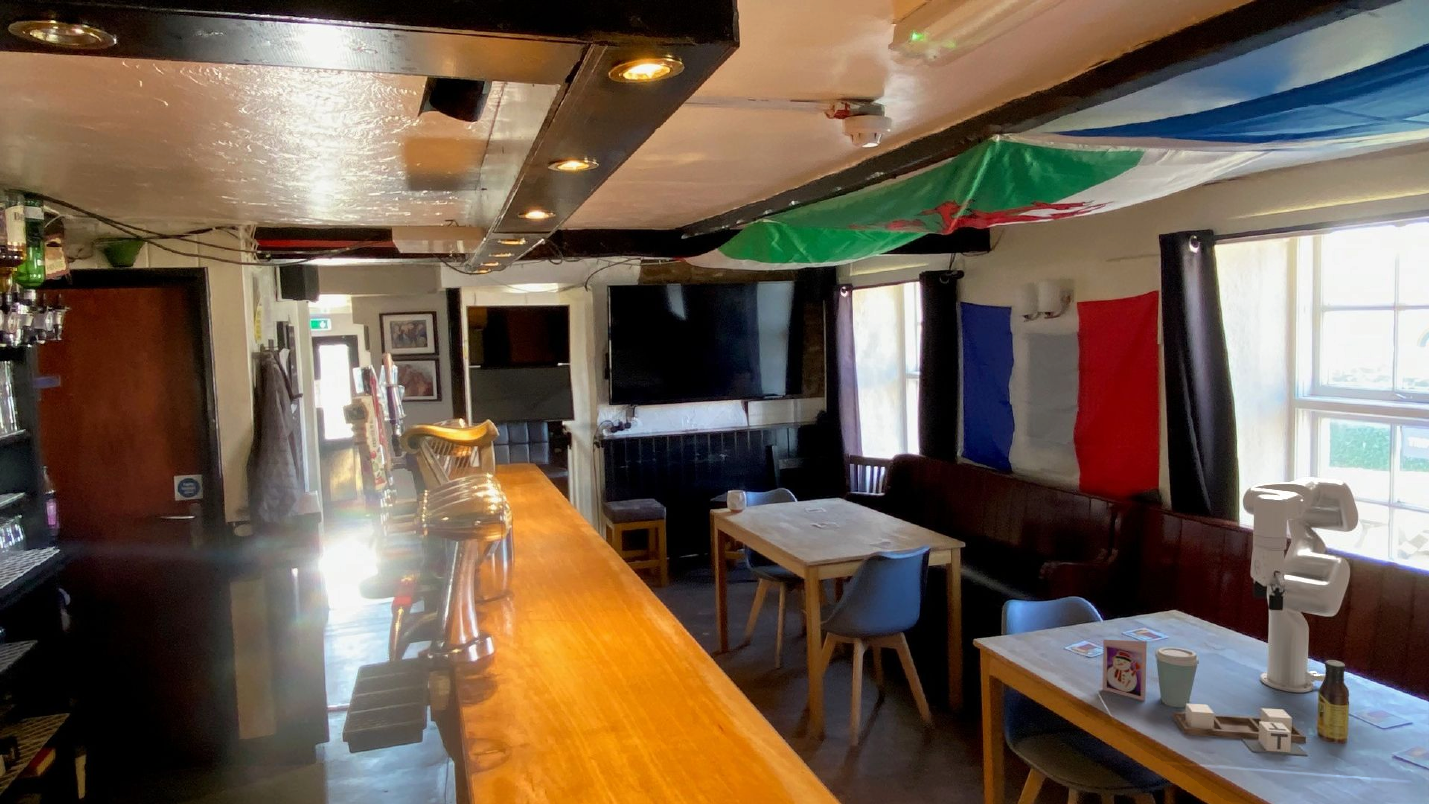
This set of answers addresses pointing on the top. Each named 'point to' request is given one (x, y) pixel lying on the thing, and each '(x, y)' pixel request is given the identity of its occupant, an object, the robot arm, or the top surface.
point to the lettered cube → (1274, 736)
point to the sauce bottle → (1333, 704)
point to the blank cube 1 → (1199, 716)
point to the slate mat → (1258, 748)
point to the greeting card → (1125, 667)
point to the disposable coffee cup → (1176, 675)
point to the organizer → (1232, 727)
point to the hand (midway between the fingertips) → (1267, 604)
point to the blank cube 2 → (1276, 717)
